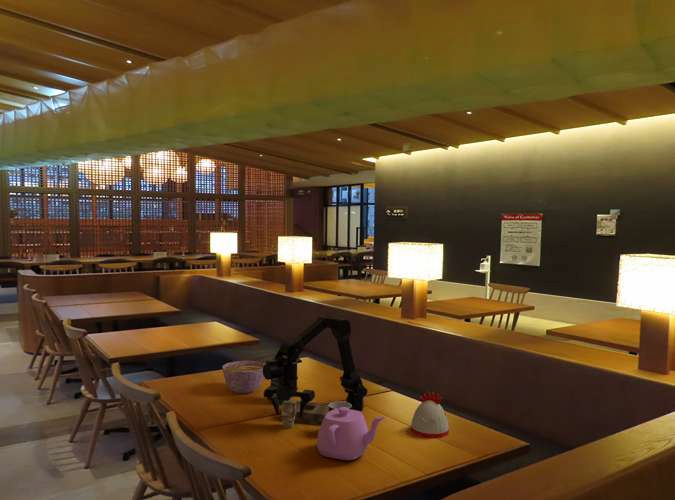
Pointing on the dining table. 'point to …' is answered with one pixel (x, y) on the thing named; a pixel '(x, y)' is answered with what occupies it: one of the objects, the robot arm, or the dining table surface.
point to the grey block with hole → (311, 413)
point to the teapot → (345, 434)
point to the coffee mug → (339, 405)
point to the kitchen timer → (430, 418)
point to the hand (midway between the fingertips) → (289, 416)
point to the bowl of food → (243, 376)
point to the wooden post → (288, 413)
